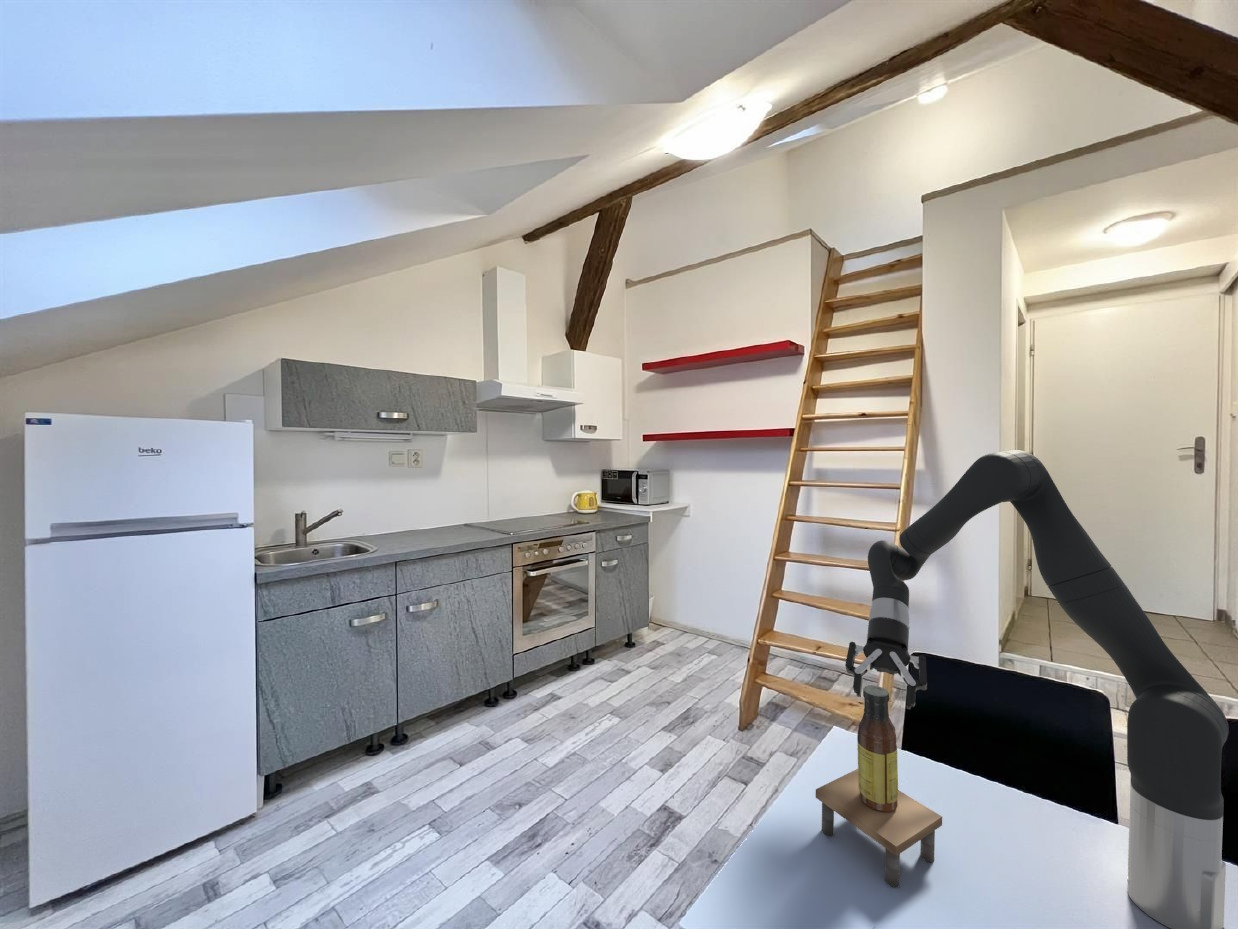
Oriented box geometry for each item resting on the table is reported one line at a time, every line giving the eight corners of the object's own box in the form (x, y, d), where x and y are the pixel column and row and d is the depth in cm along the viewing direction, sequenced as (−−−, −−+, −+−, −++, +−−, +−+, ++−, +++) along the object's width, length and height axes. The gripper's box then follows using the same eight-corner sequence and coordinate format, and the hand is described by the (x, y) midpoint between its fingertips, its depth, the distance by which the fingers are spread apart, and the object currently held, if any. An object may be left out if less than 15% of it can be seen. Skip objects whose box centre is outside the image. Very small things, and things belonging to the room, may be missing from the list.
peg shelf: (941, 860, 84) (942, 816, 83) (895, 894, 77) (896, 846, 77) (860, 805, 97) (860, 767, 96) (815, 830, 90) (815, 789, 90)
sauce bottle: (888, 790, 90) (890, 682, 89) (904, 816, 83) (907, 700, 83) (850, 788, 90) (852, 680, 90) (864, 813, 84) (866, 697, 84)
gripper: (850, 610, 106) (841, 684, 97) (928, 622, 99) (926, 704, 89) (853, 627, 111) (844, 699, 102) (927, 640, 103) (926, 719, 94)
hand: (883, 701), depth 96 cm, fingers open, 8 cm apart
